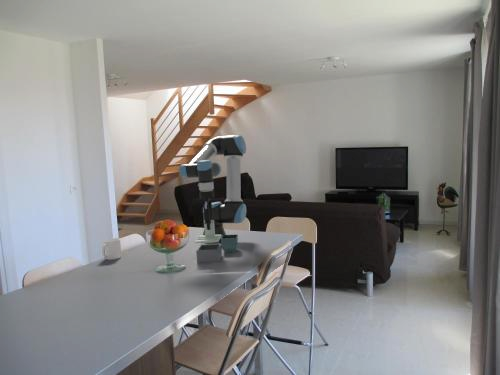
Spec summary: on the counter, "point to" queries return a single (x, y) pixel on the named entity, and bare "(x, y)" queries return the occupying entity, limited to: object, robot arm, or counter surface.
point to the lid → (206, 238)
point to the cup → (112, 249)
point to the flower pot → (229, 242)
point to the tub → (209, 253)
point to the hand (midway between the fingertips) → (209, 235)
